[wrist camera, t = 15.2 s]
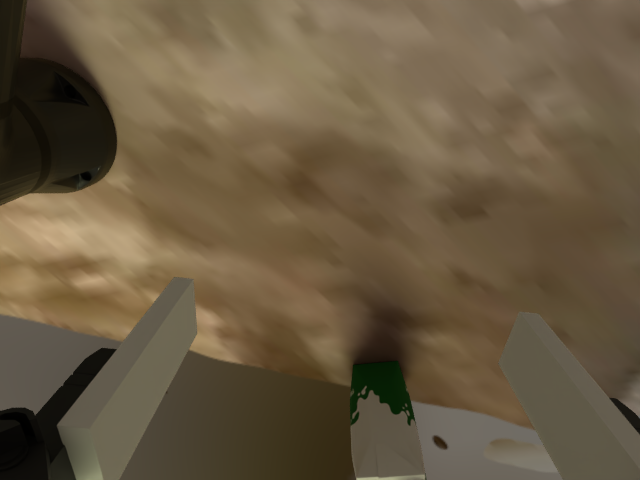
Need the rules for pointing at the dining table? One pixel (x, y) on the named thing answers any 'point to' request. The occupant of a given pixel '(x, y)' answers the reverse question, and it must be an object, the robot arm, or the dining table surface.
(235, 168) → the dining table surface
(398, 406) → the milk carton
